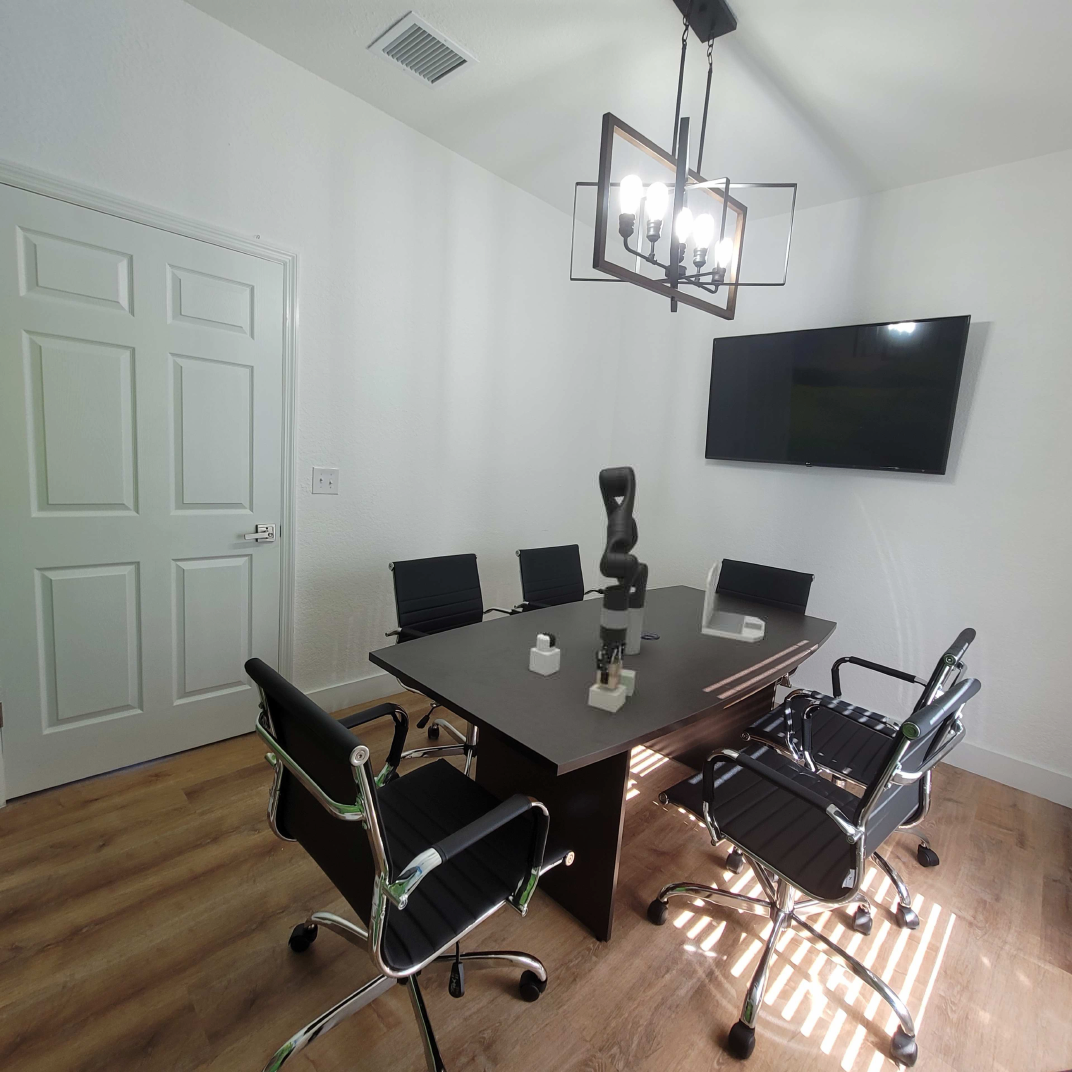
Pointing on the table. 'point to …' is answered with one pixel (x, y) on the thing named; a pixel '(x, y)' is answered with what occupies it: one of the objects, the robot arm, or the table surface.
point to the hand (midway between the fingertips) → (608, 680)
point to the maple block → (612, 674)
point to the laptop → (728, 617)
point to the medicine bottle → (545, 655)
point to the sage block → (628, 681)
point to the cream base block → (607, 697)
